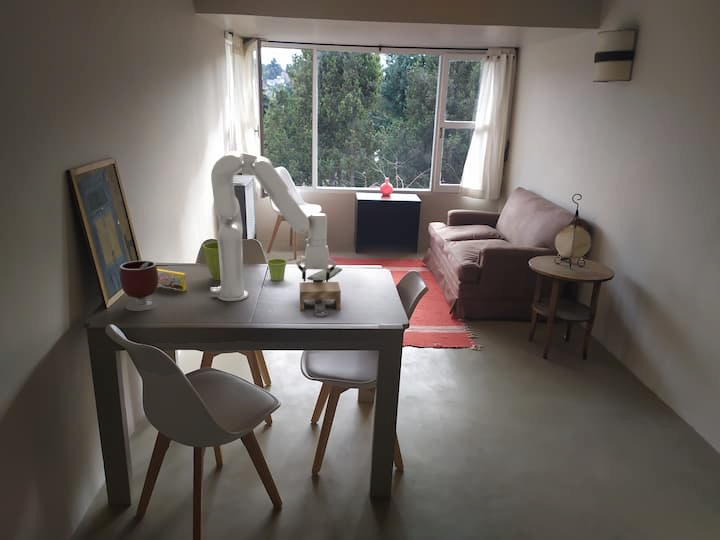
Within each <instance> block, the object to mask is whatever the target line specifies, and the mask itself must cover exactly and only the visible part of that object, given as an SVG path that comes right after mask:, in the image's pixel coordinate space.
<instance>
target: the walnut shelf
mask: <svg viewBox="0 0 720 540" xmlns="http://www.w3.org/2000/svg"><path fill="white" fill-rule="evenodd" d="M341 292H342V291H341V287H340V284H339V281H328V282H326V281H323V282H313V281H312V282H311V281H310V282H307V281H305V282H304V281H303V282H299V311H300V312H305V301H314V300H324V301H325V300H327V301H328V300H329V301H331V300H334V304H336V305H335V309H336V310H337V311H341V305H342V304H341V300H342V299H341V295H342V293H341Z"/></svg>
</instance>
